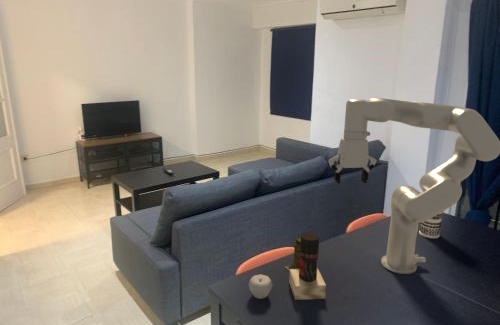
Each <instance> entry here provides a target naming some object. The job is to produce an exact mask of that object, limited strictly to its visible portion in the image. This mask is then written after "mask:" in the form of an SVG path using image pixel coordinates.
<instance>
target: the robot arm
mask: <svg viewBox="0 0 500 325" xmlns="http://www.w3.org/2000/svg"><path fill="white" fill-rule="evenodd" d="M344 116H345V117H344V128H343V137H342V138H340V141H339V143H338V144H339V145H338V149H337V154H336V155H335V156H333V157H331V158H329V159H328V164H329V166H330V168H331V169H332V170H334V181H335V182H336V184H341V176H342V174H341V171H342V170H343V169H344V168H345V169H346V168H348V169H349V168H352V169H353V168H362V171H361V179H360V181H361V182H362V183H364V184H367V181H368V180H369V173H370V172H371V170H372V169H374V167H375V165H376V163H377V162H378V160H377V159H376V158H374V157H373V156H370V155H369V141H368V139H367V138H368V137H370V136H371V132H370V131H368V130H367V129H368V124H369V123H368V122H374V123H387V122H388V121H391V122H396V123H397V122H398V123H401V124H403V125H408V126H410V127H415V128H419V129H420V128H421V129H422V128H423V129H432V130H438V131H448V132H455V133H456V134H459V135H458V136H457V137H456V139H455V144H454V150H453V153H452V155H451V156H450V157H449V159H446V161H445V162H443V163H442V164H440V165H438V166H437V167H435V168H433V169H431V170H430V171H428V172H426V173H425V174H424V175H422V176H421V178H420V179H419V182H418V185H419V187H420V190H421V191H422V192H420V191H419V190H418V189H416V188H415V187H413V186H412V185H411V186H410V185H407V184H405V185H403V184H402V185H400V186H397V187H396V188H395V189H394V190H393V191H392V194H391V197H390V209H391V210H390V214H391V215H390V223H389V230H388V239H387V246H386V254H385V255H383V256H382V257H381V260H380V261H381V265H382V266H383V267H384V268H386V270H389V271H390V272H393V273H395V274H401V275H409V274H413V273H415V272H416V271H417V268H418V266H417V264H418V263H426V262H427V259H426V257H424V256H420V255H419V254H415V251H416V244H417V237H418V236H417V235H418V232H419V223H420V224H421V222H424V221H427V220H429V219H431V218H432V217H434V216H436V215H438V214H439V213H441V212H443V211H444V212H445V211H446V210H448V209H449V208H451V207H453V206H454V205H456V203H458V201H459V200H460V198H461V197H462V193H463V188H462V185H461V184H460V183H461V182H462V181H464V180H465V179H467V178H468V177H469V176H470V175H471V174H472V173H473V171H474V169H475V166H476V161H477V160H478V161H482V162H490V161H493V160H495V159H497V158H498V157H499V156H500V139H499V137H498V136H497V134H495V132H494V130H492V128H491V127H490V125H489V123H487V121H486V120H485V119H484V117H483V116H482V115H481V114H480V113H479V112H478V111H477V110H476V109H473V108H467V107H463V106H459V105H449V104H448V105H447V104H439V103H430V102H424V101H423V102H422V101H410V100H409V101H408V100H398V99H391V98H389V99H388V98H383V97H382V98H380V97H371V98H369V99H367V100H366V99H362V98H352V99H349V100H347V102H346V105H345V115H344ZM369 161H370V163H369ZM335 162H336V165H335ZM444 212H443V213H444Z"/></svg>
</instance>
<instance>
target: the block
mask: <svg viewBox="0 0 500 325" xmlns="http://www.w3.org/2000/svg"><path fill="white" fill-rule="evenodd" d="M288 280H289V281H288V283H289V285H290V288H291V292H292V295H293V299H294V300H295V301H296V300H297V301H298V300H300V301H302V300H321V299H324V300H325V299H326V291H327V284H326V282H325V280H324V278H323V276H322V274H321V272H320V270H319V268H318V267H317V278H316V280H315V281H313V282H305V281H303V280H301V279H300V278H299V269H290V271H289V278H288Z"/></svg>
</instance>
